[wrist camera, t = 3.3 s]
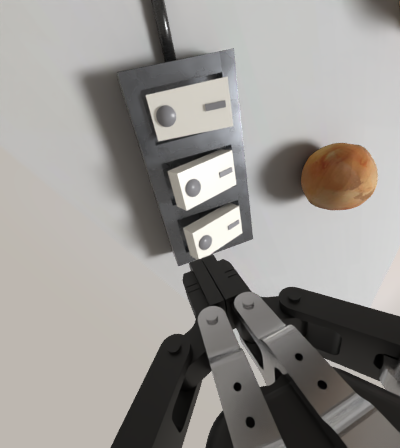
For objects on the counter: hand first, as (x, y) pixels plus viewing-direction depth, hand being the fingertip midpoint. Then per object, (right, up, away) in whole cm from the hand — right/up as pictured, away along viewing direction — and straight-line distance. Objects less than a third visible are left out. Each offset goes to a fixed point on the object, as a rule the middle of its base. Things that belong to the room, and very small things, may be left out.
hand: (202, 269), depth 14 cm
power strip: (-2, +14, +16) cm, 22 cm away
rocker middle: (0, +8, +14) cm, 16 cm away
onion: (+19, +12, +25) cm, 33 cm away
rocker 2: (+2, +2, +18) cm, 18 cm away
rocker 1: (-1, +15, +10) cm, 18 cm away
